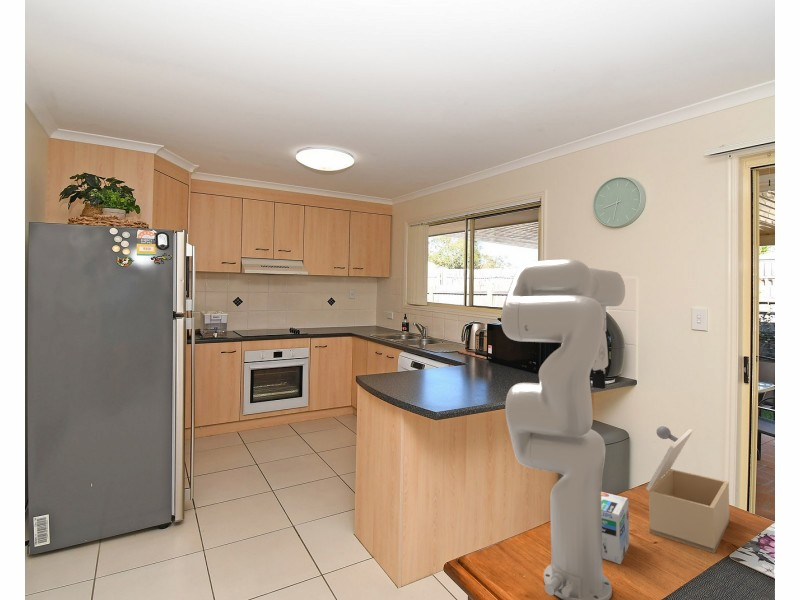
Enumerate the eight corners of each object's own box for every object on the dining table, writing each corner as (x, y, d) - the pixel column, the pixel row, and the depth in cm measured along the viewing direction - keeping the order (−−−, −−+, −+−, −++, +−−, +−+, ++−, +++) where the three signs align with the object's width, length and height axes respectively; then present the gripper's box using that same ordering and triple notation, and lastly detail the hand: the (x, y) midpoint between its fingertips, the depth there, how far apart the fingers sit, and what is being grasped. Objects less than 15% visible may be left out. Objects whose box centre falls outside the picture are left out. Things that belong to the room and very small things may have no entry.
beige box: (714, 553, 98) (713, 508, 98) (649, 532, 107) (648, 491, 107) (729, 521, 112) (728, 481, 112) (671, 505, 121) (670, 468, 121)
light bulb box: (621, 565, 94) (620, 515, 94) (587, 555, 98) (587, 506, 98) (630, 543, 102) (629, 497, 102) (599, 534, 106) (598, 490, 106)
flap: (674, 447, 103) (648, 432, 107) (648, 491, 107) (624, 474, 111) (693, 429, 117) (670, 416, 121) (670, 468, 121) (648, 454, 125)
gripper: (592, 327, 106) (593, 398, 106) (617, 324, 118) (618, 387, 118) (562, 326, 111) (563, 394, 111) (589, 323, 123) (590, 384, 123)
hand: (591, 390), depth 114 cm, fingers open, 9 cm apart
